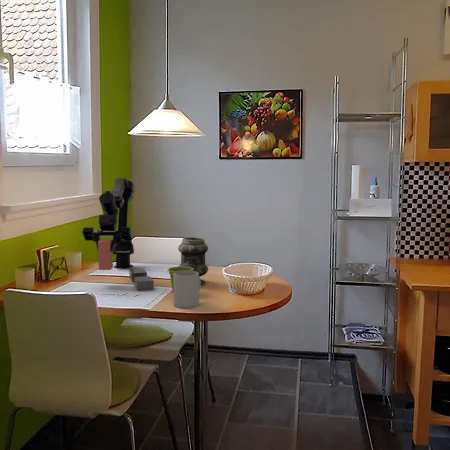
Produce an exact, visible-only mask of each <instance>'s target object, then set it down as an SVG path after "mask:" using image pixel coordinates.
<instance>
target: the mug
mask: <svg viewBox="0 0 450 450" xmlns="http://www.w3.org/2000/svg"><path fill="white" fill-rule="evenodd" d="M200 279H201V276H199V273H198V272H196V271H177V272H175V273H174V293H173V306H174V307H175V308H179V309H192V308H196V307H198V306H199V305H200V294H199V293H200V291H201V286H202V285H201V281H200Z"/></svg>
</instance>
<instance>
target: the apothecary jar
mask: <svg viewBox="0 0 450 450" xmlns="http://www.w3.org/2000/svg"><path fill="white" fill-rule="evenodd" d="M177 251H178V252H179V253H180V258H181V259H180V264H179V265H178V266H177V267H191V268H193V271H196V272H198V273H199V276H200V277H203V276H204V275H206V274H207V273H208V272H209V266H208V264H206V253H207V252H208V251H209V246H208V245H207V244H206V243H205V239H204V237H200V236H199V237H198V236H186V237H183V238H182V241H181V243H180V244H179V245H178V247H177ZM200 281H201V286H203V285H205V284H206V280H204V279H202V278H200Z"/></svg>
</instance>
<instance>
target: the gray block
mask: <svg viewBox="0 0 450 450" xmlns="http://www.w3.org/2000/svg"><path fill="white" fill-rule="evenodd" d="M128 273H129V279H130V281H131V282H133V283H134V287H135V289H136V290H137V292H140V291H153V290H154V279H153V277H151V275H148V272H147V271H146V269H145V268H129V271H128Z"/></svg>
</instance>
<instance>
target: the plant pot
mask: <svg viewBox="0 0 450 450" xmlns="http://www.w3.org/2000/svg"><path fill="white" fill-rule="evenodd" d="M167 271H168V274H169V278H170V282H171V283H170V284H171V291H172V293H173V294H174V273H175V272H177V271H193V268H191V267H178V266H172V267H169V268H167Z"/></svg>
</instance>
